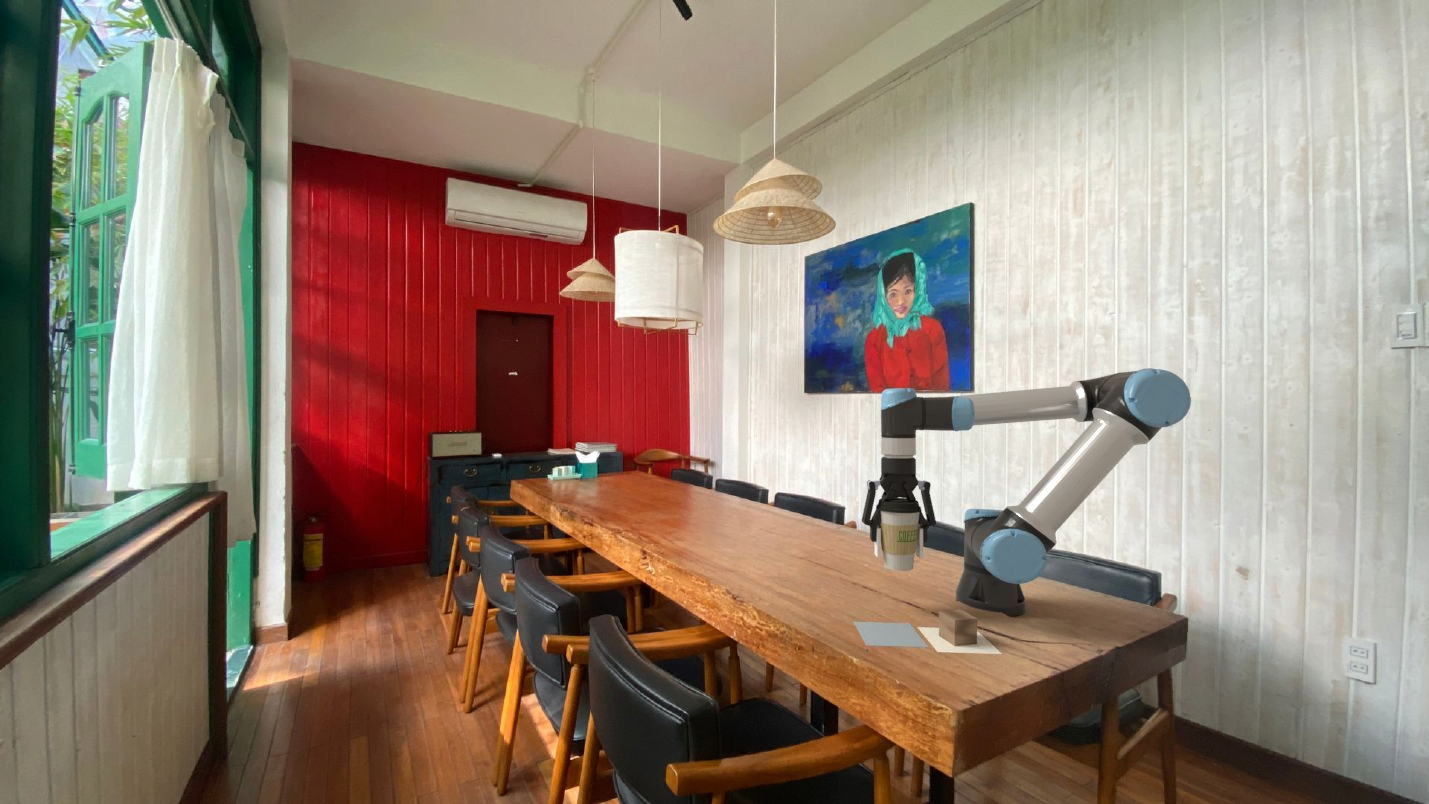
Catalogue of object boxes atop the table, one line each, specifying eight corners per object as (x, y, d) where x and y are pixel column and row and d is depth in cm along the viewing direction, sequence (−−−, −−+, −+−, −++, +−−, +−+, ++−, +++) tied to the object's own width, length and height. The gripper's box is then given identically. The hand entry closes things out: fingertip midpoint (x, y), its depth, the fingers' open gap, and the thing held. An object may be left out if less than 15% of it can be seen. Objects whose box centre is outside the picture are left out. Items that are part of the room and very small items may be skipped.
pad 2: (975, 633, 119) (975, 629, 119) (1002, 659, 107) (1002, 654, 107) (917, 631, 120) (917, 627, 120) (937, 657, 108) (937, 651, 108)
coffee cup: (925, 574, 123) (924, 505, 123) (877, 571, 125) (877, 503, 125) (918, 562, 132) (918, 498, 133) (874, 560, 134) (874, 496, 134)
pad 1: (909, 628, 122) (909, 623, 122) (928, 652, 110) (928, 647, 110) (853, 626, 122) (853, 621, 122) (866, 650, 110) (866, 645, 110)
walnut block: (960, 634, 116) (960, 609, 116) (976, 644, 111) (977, 618, 112) (938, 635, 115) (939, 611, 115) (954, 646, 110) (954, 620, 110)
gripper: (940, 455, 132) (940, 552, 132) (847, 454, 133) (847, 551, 133) (952, 458, 125) (952, 561, 124) (854, 457, 125) (854, 560, 125)
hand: (898, 556), depth 129 cm, fingers closed on coffee cup, 9 cm apart
